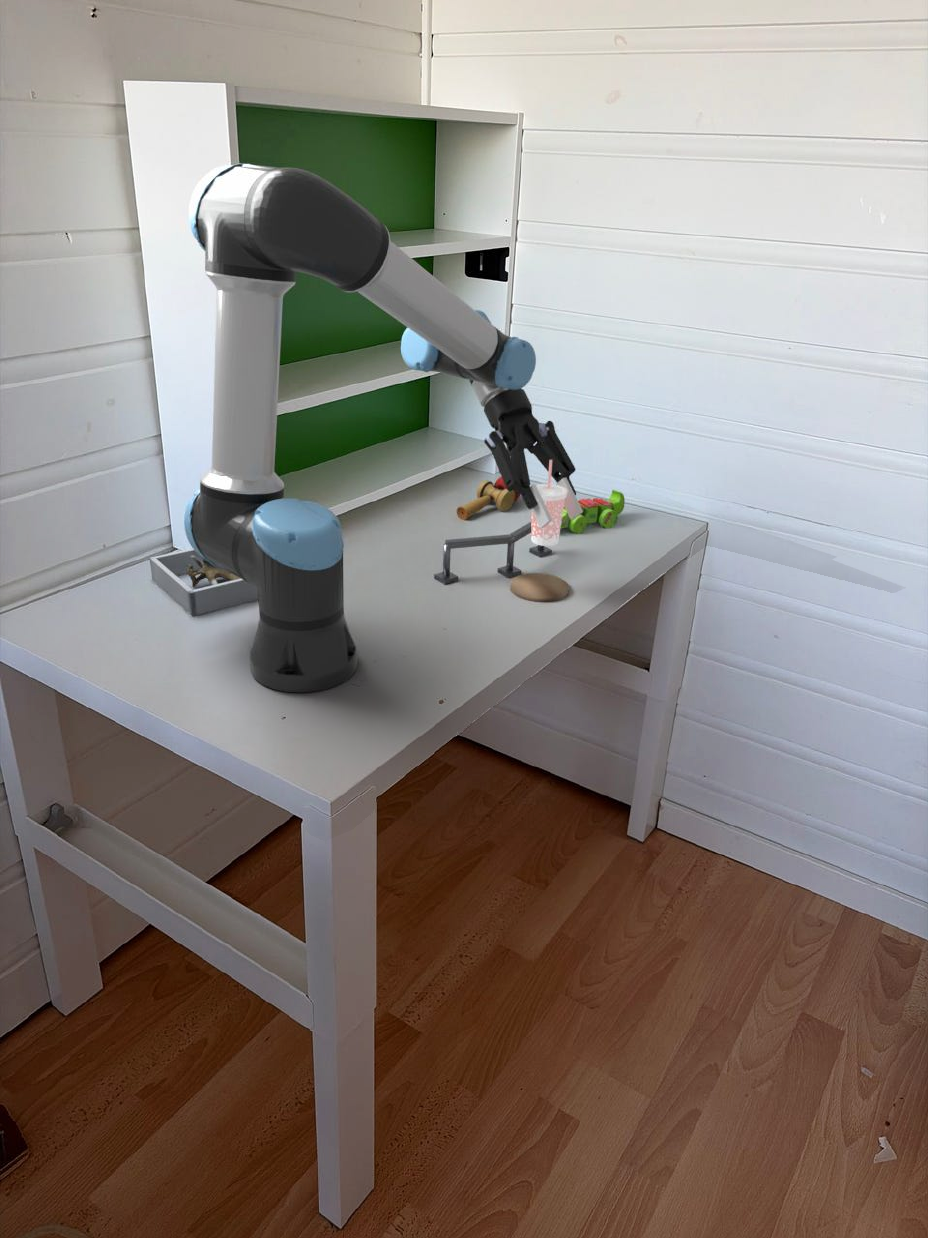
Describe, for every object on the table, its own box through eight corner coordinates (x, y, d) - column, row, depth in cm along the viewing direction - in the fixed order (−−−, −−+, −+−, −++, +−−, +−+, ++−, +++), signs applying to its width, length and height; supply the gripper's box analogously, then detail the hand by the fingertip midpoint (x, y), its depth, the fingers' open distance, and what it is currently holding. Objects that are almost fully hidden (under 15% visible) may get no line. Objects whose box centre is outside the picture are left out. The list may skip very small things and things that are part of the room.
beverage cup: (566, 536, 160) (573, 456, 153) (559, 549, 154) (566, 467, 148) (530, 531, 161) (536, 452, 155) (523, 544, 156) (528, 463, 149)
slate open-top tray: (192, 616, 148) (189, 593, 146) (152, 579, 159) (149, 557, 157) (270, 595, 155) (269, 573, 153) (227, 562, 167) (225, 541, 165)
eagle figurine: (193, 595, 152) (248, 580, 154) (181, 553, 152) (235, 538, 154) (197, 600, 159) (249, 586, 161) (185, 560, 160) (238, 546, 162)
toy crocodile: (552, 539, 182) (555, 510, 180) (533, 528, 187) (535, 499, 185) (632, 524, 192) (635, 495, 189) (611, 513, 197) (614, 485, 194)
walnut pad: (536, 607, 155) (537, 602, 155) (498, 585, 162) (498, 581, 162) (580, 592, 160) (581, 588, 160) (541, 572, 167) (541, 568, 167)
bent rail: (458, 592, 159) (459, 552, 155) (434, 578, 164) (435, 538, 160) (566, 560, 173) (570, 523, 169) (541, 548, 178) (544, 511, 174)
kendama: (480, 531, 188) (533, 498, 200) (474, 502, 186) (528, 470, 197) (451, 528, 193) (504, 496, 205) (445, 499, 190) (499, 468, 202)
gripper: (534, 403, 165) (590, 518, 161) (447, 418, 155) (505, 542, 151) (556, 378, 159) (616, 498, 155) (468, 392, 148) (529, 521, 145)
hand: (561, 519), depth 153 cm, fingers closed on beverage cup, 6 cm apart
